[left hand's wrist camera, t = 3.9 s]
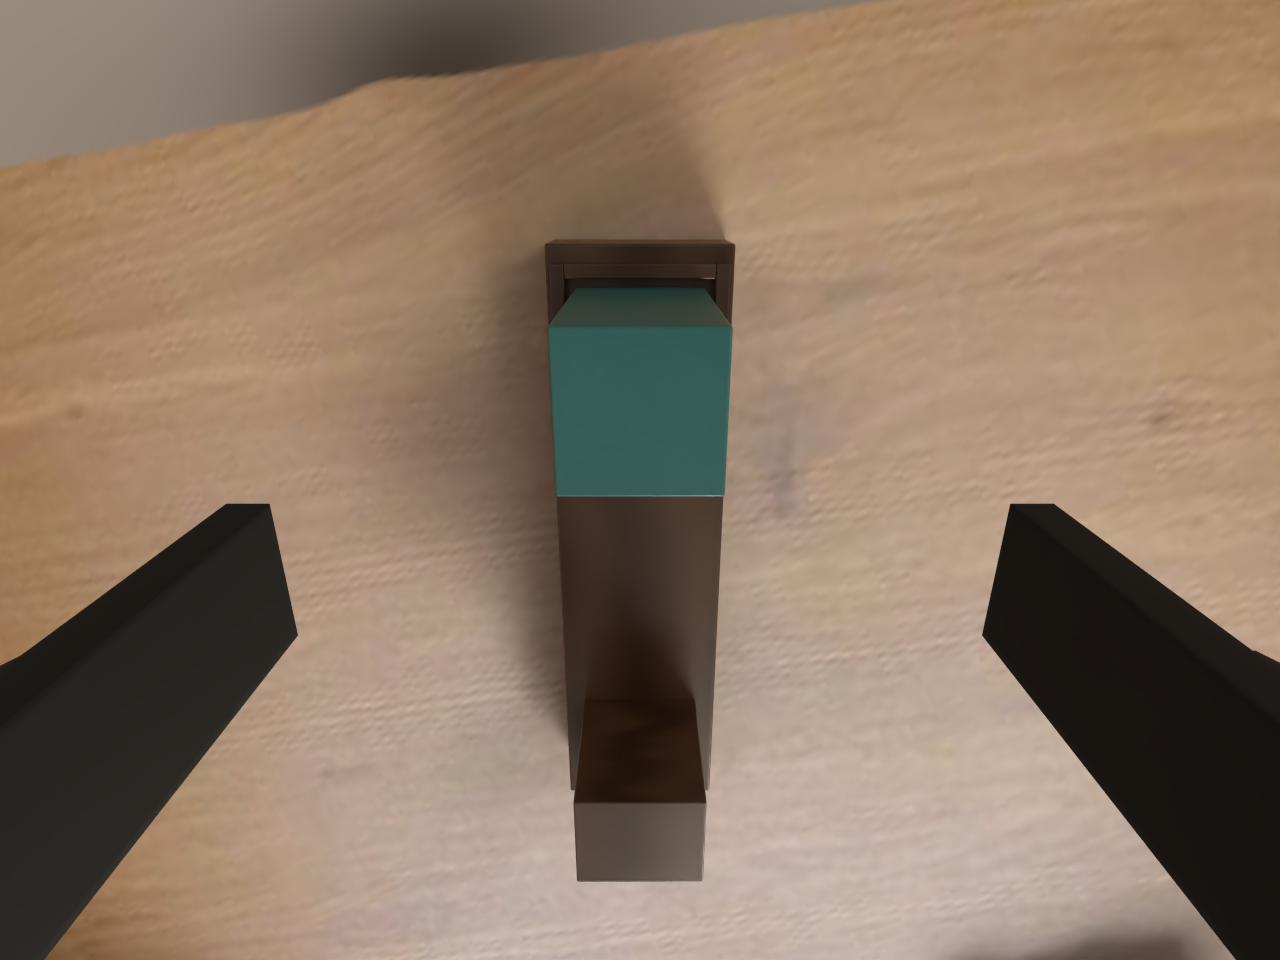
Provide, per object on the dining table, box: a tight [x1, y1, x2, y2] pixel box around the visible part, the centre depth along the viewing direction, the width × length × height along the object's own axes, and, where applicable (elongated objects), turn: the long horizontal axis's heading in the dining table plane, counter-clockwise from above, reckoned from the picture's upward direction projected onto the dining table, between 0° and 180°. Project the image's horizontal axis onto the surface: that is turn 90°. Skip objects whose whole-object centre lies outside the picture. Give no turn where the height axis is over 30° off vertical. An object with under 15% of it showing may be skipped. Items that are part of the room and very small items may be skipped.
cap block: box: [547, 287, 733, 496], centre depth 26 cm, size 6×6×10 cm
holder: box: [545, 240, 735, 882], centre depth 33 cm, size 8×30×10 cm, turn 0°
